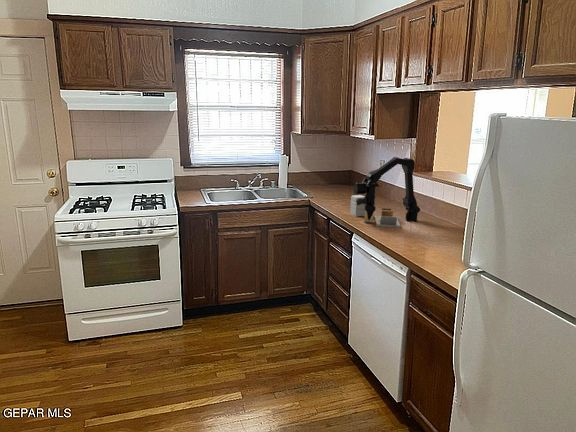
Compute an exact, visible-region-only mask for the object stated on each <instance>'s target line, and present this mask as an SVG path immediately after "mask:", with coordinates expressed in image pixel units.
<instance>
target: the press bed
mask: <svg viewBox="0 0 576 432" xmlns="http://www.w3.org/2000/svg"><path fill="white" fill-rule="evenodd" d="M374 220H375V221H374V222H375V226H376V227H382V228H383V227H385V228H387V227H388V228H401V224H400V221H399V219H398V217H397V216H393V217H389V216H381V215H374Z"/></svg>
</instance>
